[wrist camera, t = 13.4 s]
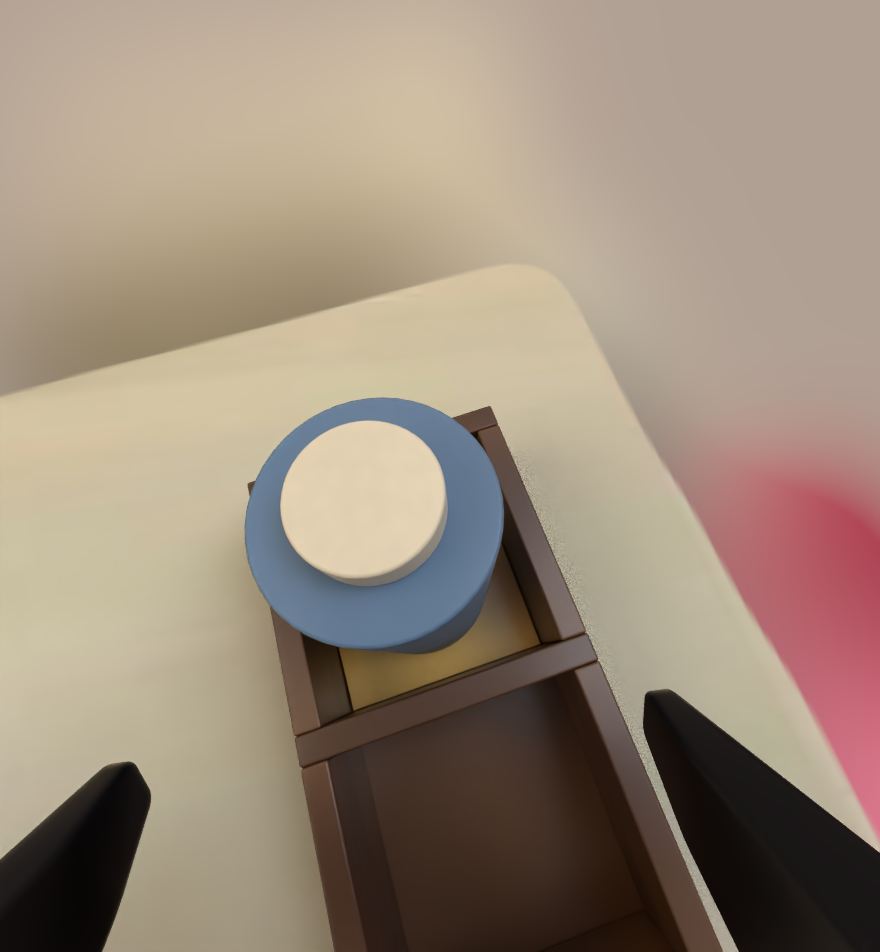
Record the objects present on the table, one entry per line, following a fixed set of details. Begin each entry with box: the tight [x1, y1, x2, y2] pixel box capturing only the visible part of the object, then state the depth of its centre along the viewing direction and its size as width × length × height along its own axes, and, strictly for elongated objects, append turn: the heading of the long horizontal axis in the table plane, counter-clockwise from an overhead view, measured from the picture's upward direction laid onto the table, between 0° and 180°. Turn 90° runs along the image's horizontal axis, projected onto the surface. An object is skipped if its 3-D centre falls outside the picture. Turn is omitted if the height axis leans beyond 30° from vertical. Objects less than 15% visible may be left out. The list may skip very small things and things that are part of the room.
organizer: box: [248, 406, 723, 952], centre depth 15 cm, size 17×9×4 cm, turn 18°
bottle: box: [245, 398, 504, 654], centre depth 13 cm, size 5×5×10 cm
